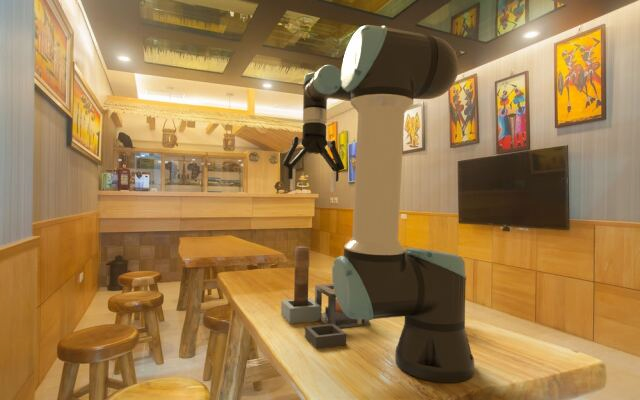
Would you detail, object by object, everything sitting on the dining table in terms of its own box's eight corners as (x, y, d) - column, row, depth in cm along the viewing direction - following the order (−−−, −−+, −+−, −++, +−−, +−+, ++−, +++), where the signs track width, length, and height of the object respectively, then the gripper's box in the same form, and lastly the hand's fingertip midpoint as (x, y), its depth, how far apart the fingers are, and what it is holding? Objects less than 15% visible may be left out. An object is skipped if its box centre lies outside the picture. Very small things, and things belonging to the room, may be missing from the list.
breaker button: (351, 318, 98) (351, 302, 98) (337, 319, 97) (337, 303, 97) (344, 313, 102) (345, 298, 102) (330, 315, 101) (331, 299, 101)
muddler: (309, 318, 100) (311, 247, 101) (296, 319, 99) (297, 248, 99) (305, 314, 104) (306, 246, 105) (291, 315, 103) (293, 246, 103)
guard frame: (370, 324, 96) (370, 291, 96) (329, 329, 92) (330, 294, 92) (350, 312, 107) (351, 282, 107) (313, 316, 103) (314, 284, 103)
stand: (346, 344, 82) (346, 333, 82) (315, 348, 79) (316, 337, 79) (333, 333, 89) (333, 323, 89) (305, 337, 86) (305, 326, 86)
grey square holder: (320, 320, 99) (321, 306, 99) (289, 323, 96) (290, 308, 96) (310, 311, 107) (310, 298, 107) (281, 314, 104) (281, 300, 104)
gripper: (345, 130, 120) (344, 192, 120) (273, 122, 111) (271, 189, 111) (355, 125, 113) (354, 191, 113) (279, 116, 104) (277, 188, 104)
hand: (313, 191), depth 112 cm, fingers open, 13 cm apart
